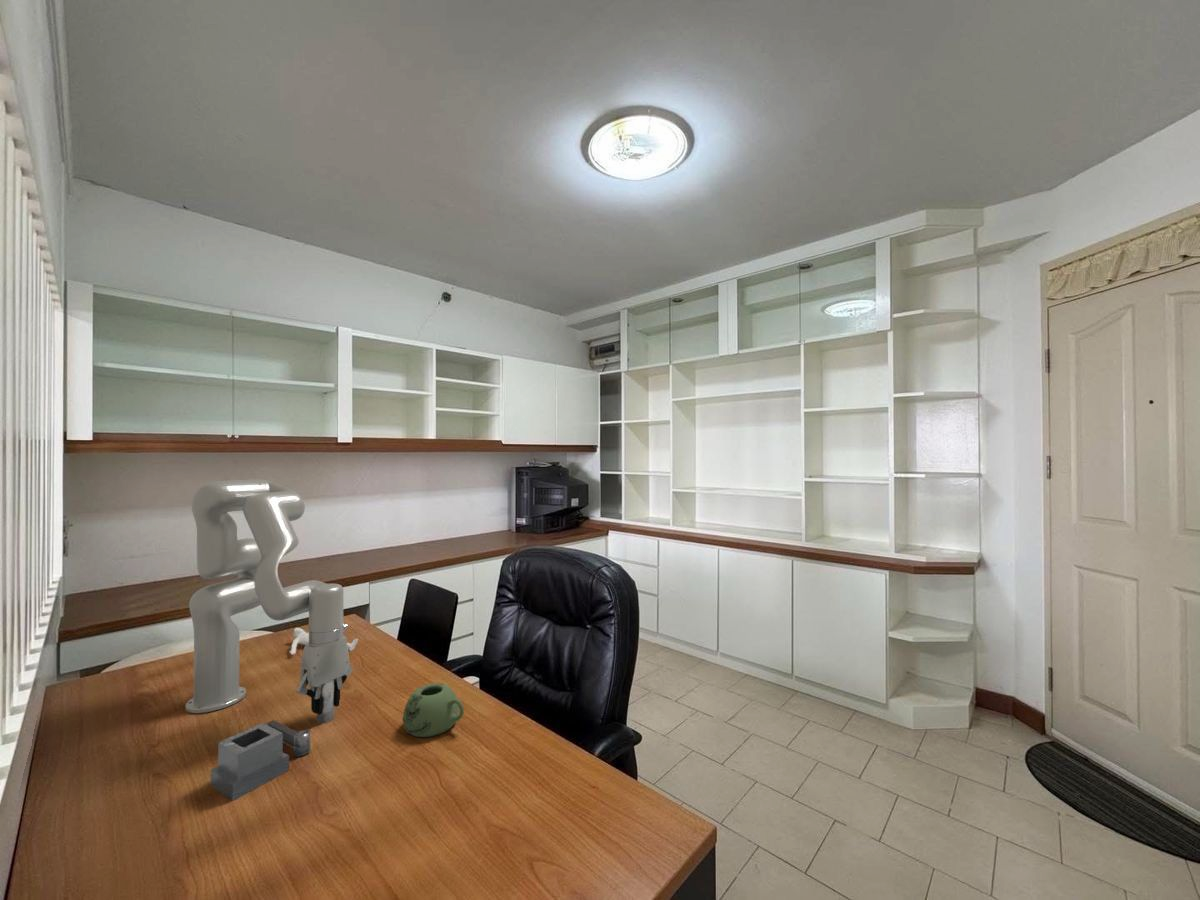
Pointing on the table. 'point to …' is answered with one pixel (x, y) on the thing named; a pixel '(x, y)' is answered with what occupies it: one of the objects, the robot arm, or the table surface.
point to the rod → (327, 702)
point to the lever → (293, 738)
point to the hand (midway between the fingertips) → (325, 708)
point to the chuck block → (249, 761)
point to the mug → (431, 710)
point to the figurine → (304, 639)
